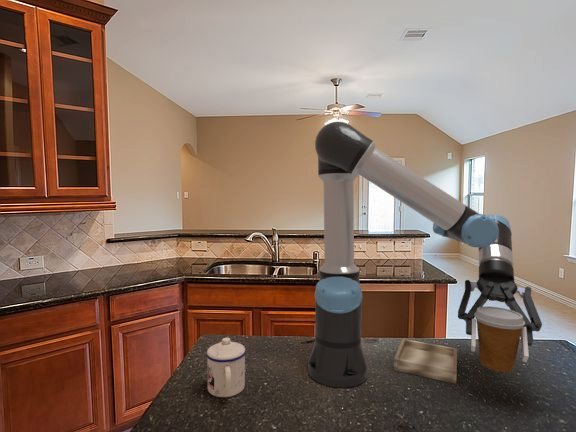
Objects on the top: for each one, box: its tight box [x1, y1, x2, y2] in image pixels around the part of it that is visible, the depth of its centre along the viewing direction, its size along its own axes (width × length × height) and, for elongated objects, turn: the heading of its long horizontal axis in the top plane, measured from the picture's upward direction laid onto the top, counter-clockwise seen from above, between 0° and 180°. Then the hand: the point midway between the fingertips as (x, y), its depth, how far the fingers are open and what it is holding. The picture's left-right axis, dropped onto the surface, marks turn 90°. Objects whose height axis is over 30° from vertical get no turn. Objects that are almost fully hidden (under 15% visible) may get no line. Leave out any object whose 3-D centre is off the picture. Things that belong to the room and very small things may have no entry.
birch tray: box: [393, 338, 458, 385], centre depth 92 cm, size 15×15×3 cm
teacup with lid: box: [205, 337, 247, 398], centre depth 78 cm, size 12×9×12 cm
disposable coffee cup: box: [474, 305, 525, 373], centre depth 76 cm, size 10×10×12 cm
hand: (498, 353), depth 73 cm, fingers closed on disposable coffee cup, 9 cm apart
